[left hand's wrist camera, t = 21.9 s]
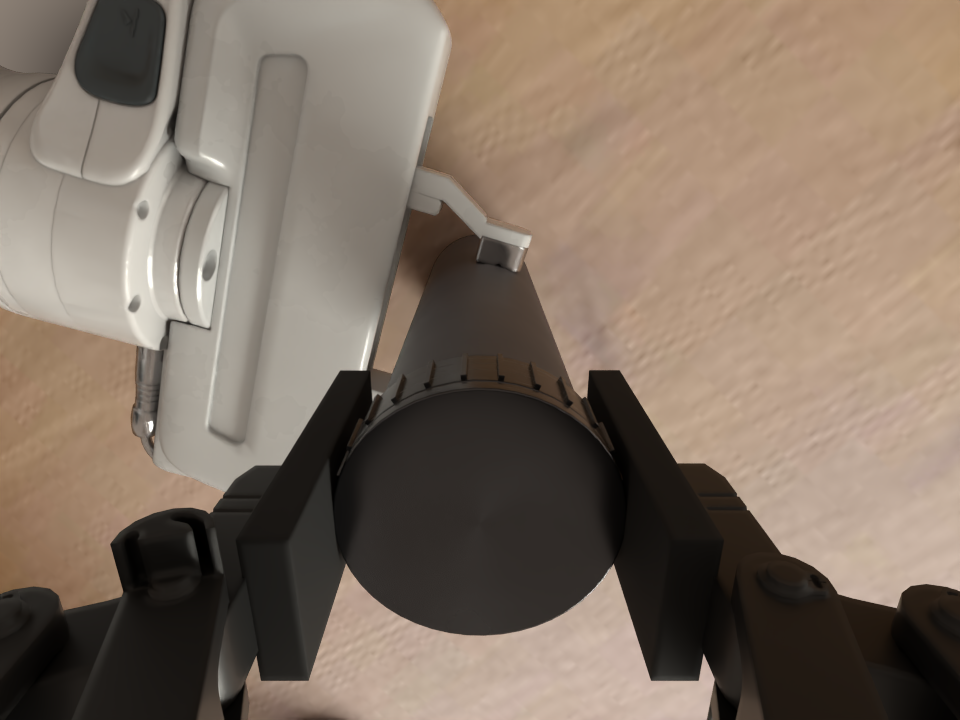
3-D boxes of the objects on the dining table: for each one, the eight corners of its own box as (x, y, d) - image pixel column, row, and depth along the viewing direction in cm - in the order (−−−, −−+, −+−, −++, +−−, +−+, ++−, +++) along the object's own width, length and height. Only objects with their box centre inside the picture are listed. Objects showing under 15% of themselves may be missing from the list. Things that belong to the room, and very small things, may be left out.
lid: (666, 447, 12) (695, 493, 10) (506, 617, 14) (510, 679, 12) (446, 295, 11) (439, 321, 9) (299, 501, 12) (273, 552, 11)
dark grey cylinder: (549, 275, 29) (657, 476, 11) (488, 350, 30) (501, 631, 13) (469, 213, 28) (453, 330, 10) (410, 294, 29) (307, 517, 12)
